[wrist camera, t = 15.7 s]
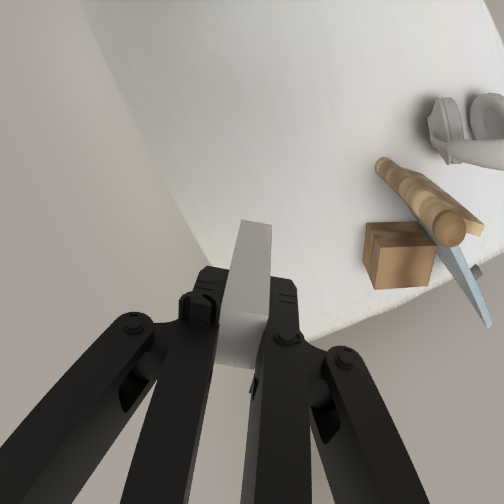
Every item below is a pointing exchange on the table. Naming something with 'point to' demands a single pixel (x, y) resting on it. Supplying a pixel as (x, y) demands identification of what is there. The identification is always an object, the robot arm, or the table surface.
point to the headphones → (483, 127)
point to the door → (461, 273)
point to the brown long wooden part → (430, 204)
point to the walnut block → (398, 255)
